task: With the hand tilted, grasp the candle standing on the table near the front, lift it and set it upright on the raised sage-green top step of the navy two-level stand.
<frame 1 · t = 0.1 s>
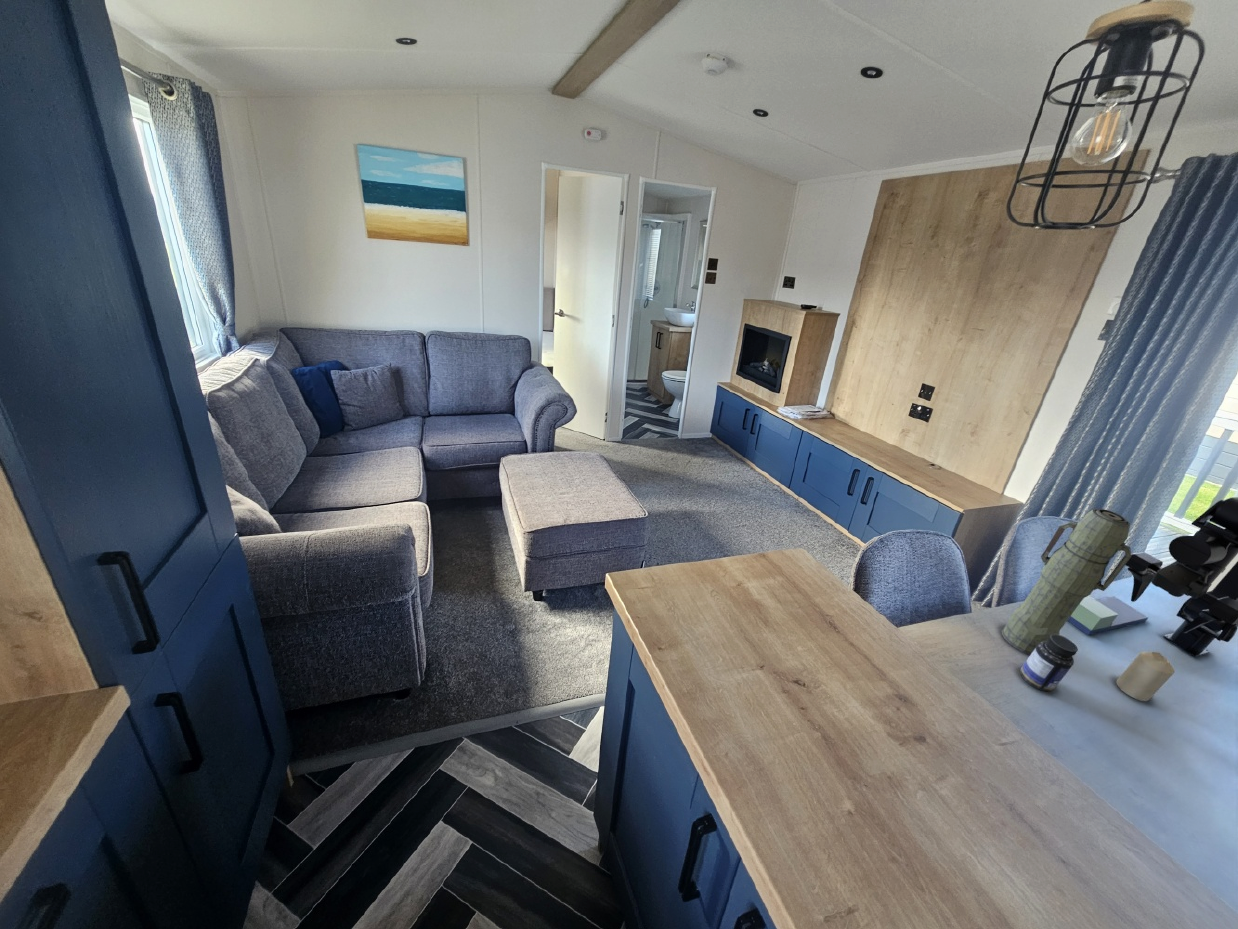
hand: (1157, 616, 110), 15 cm above the table, tool pointing down, fingers open, 9 cm apart
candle: (1131, 691, 110), on the table
stand: (1100, 616, 132), on the table
pill bottle: (1035, 681, 108), on the table
thermos: (1022, 642, 118), on the table
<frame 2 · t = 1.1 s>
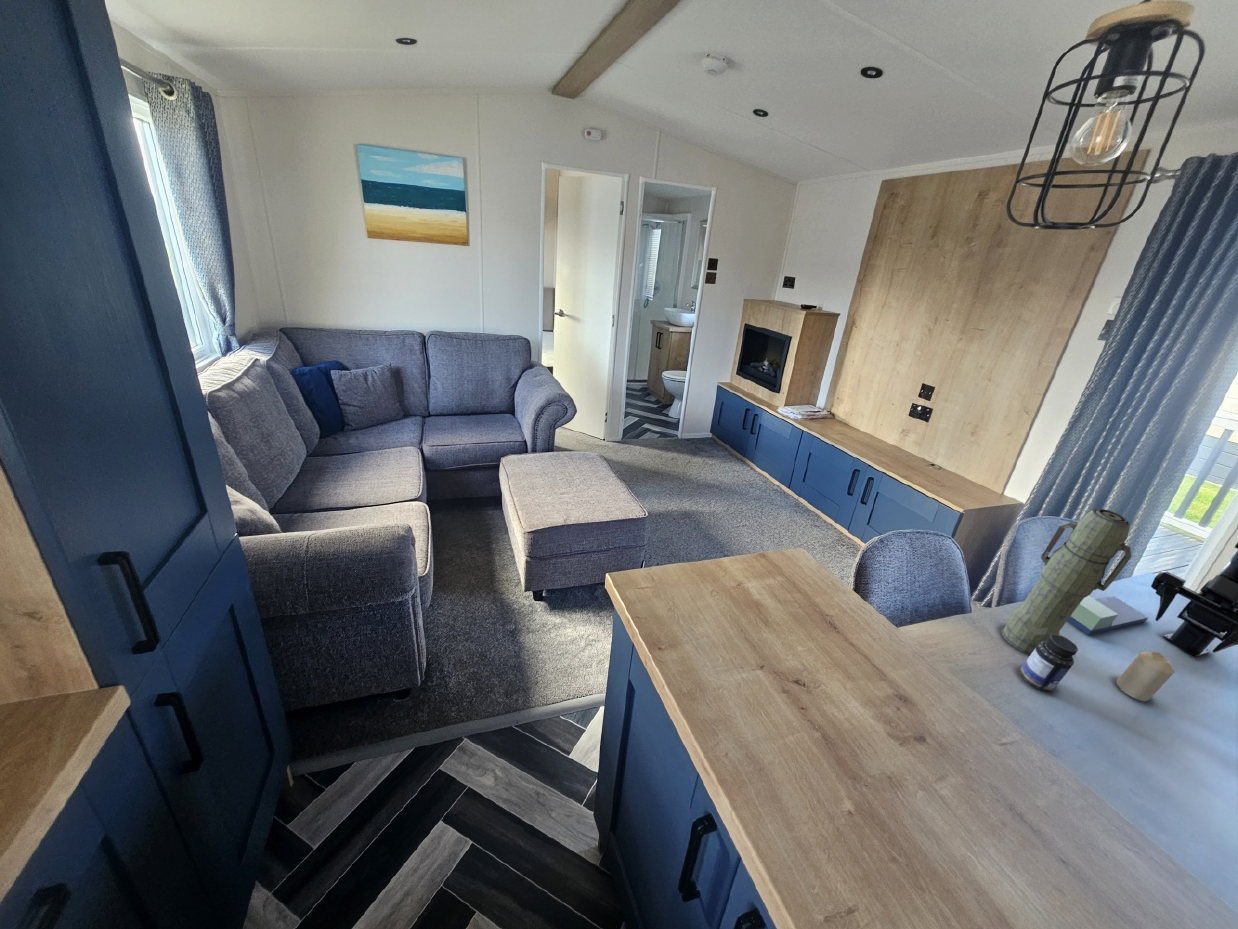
hand: (1184, 635, 107), 13 cm above the table, tool tilted 45°, fingers open, 9 cm apart
nothing on the table moved.
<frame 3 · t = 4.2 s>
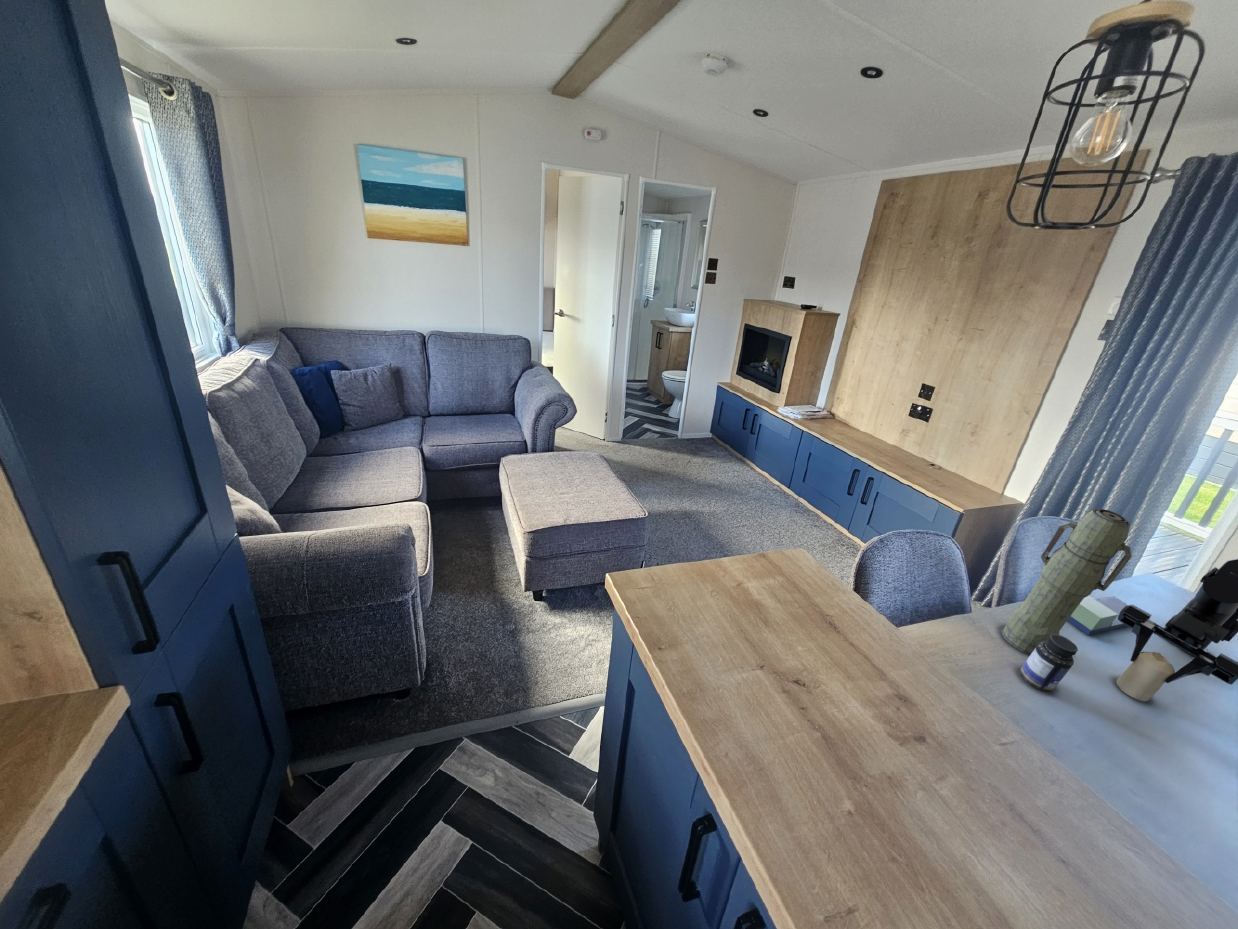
hand: (1148, 671, 106), 7 cm above the table, tool tilted 45°, fingers closed on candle, 5 cm apart
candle: (1131, 691, 110), on the table, touching gripper
everything else where it was.
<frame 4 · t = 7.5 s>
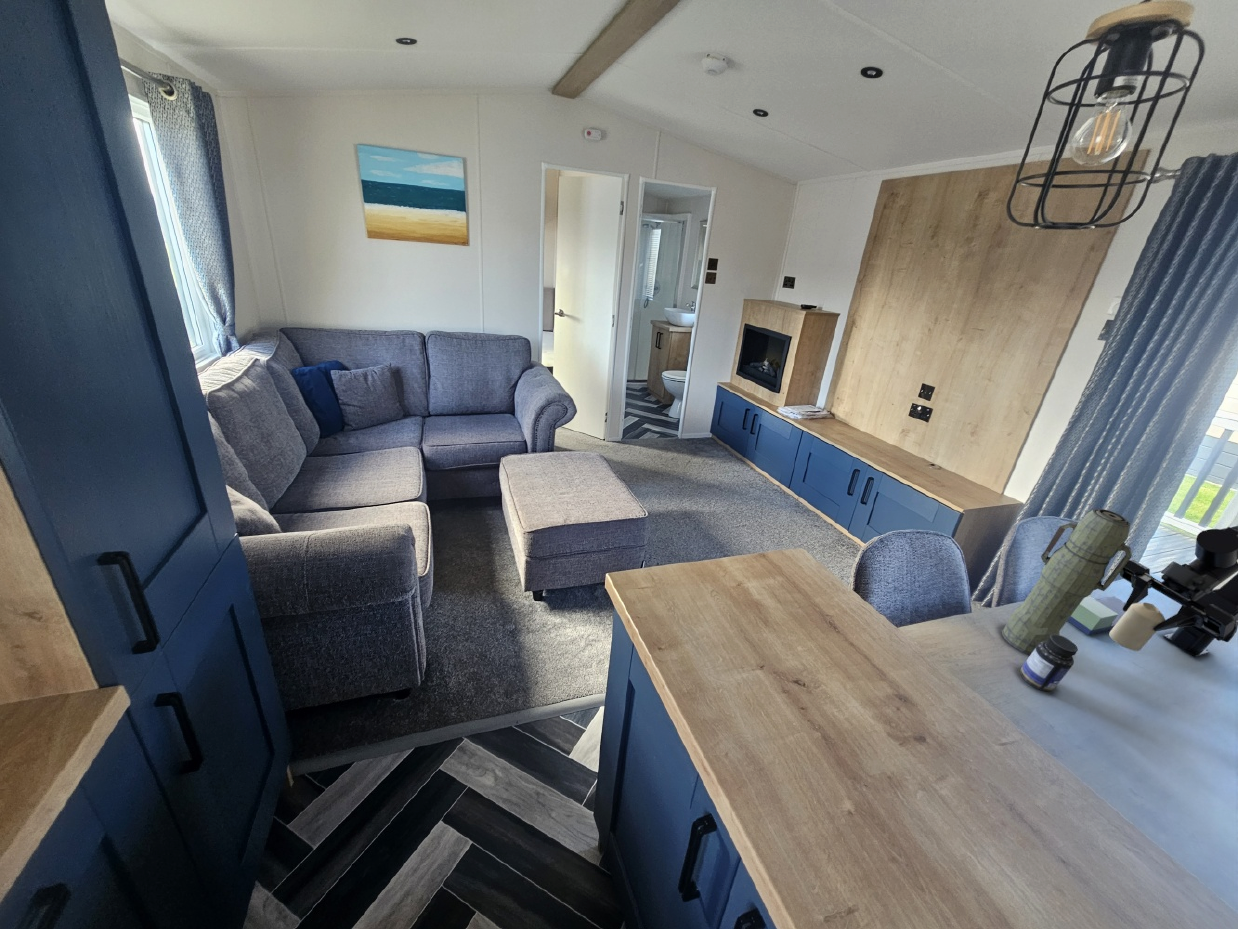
hand: (1138, 619, 109), 14 cm above the table, tool tilted 45°, fingers closed on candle, 5 cm apart
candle: (1123, 642, 113), point 7 cm above the table, touching gripper
everything else where it was.
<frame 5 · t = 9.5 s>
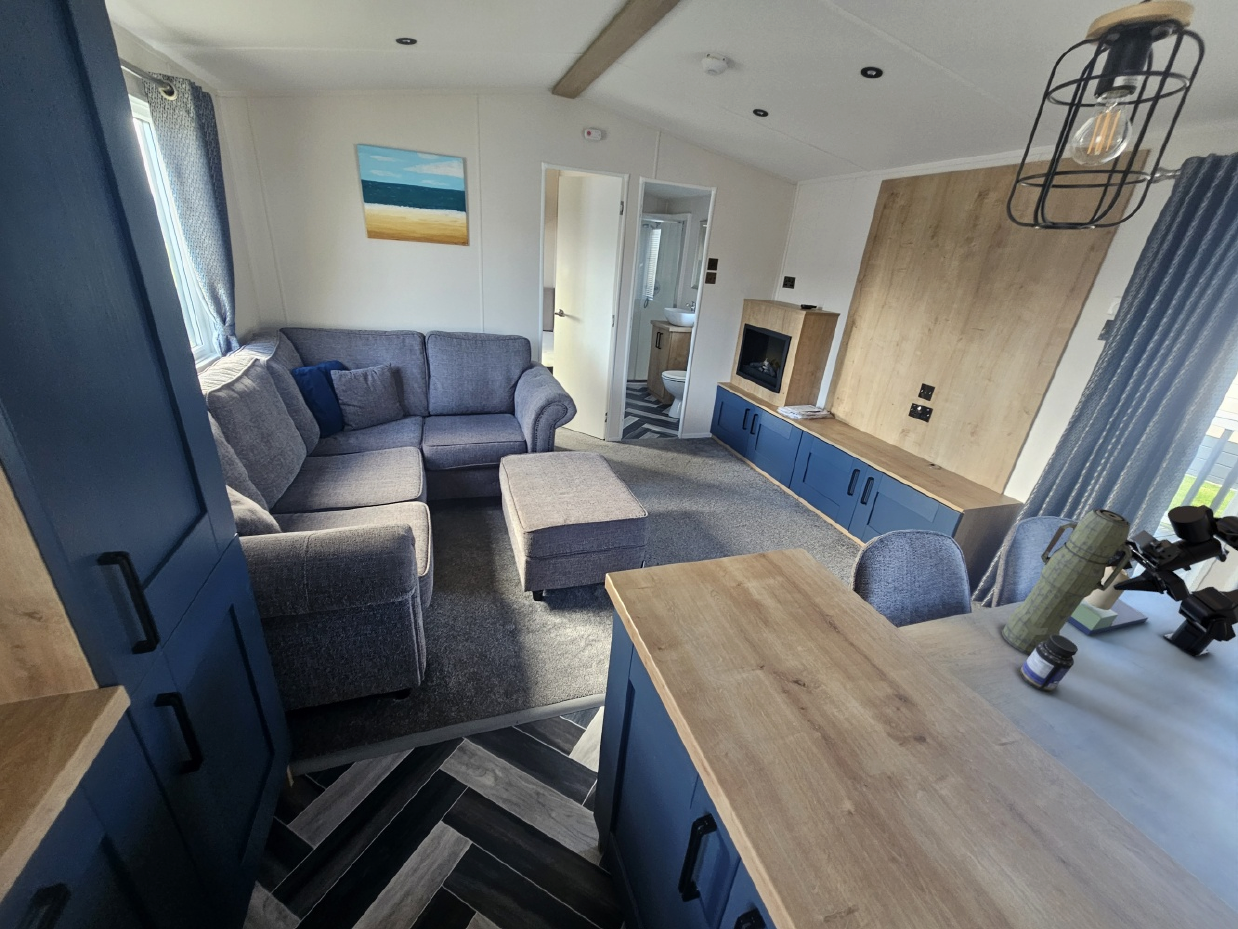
hand: (1105, 580, 122), 13 cm above the table, tool tilted 45°, fingers closed on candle, 5 cm apart
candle: (1095, 602, 125), point 7 cm above the table, touching gripper
everything else where it was.
when the fingers open (12 cm above the table, at t = 10.9 s): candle stays where it is, resting on stand.
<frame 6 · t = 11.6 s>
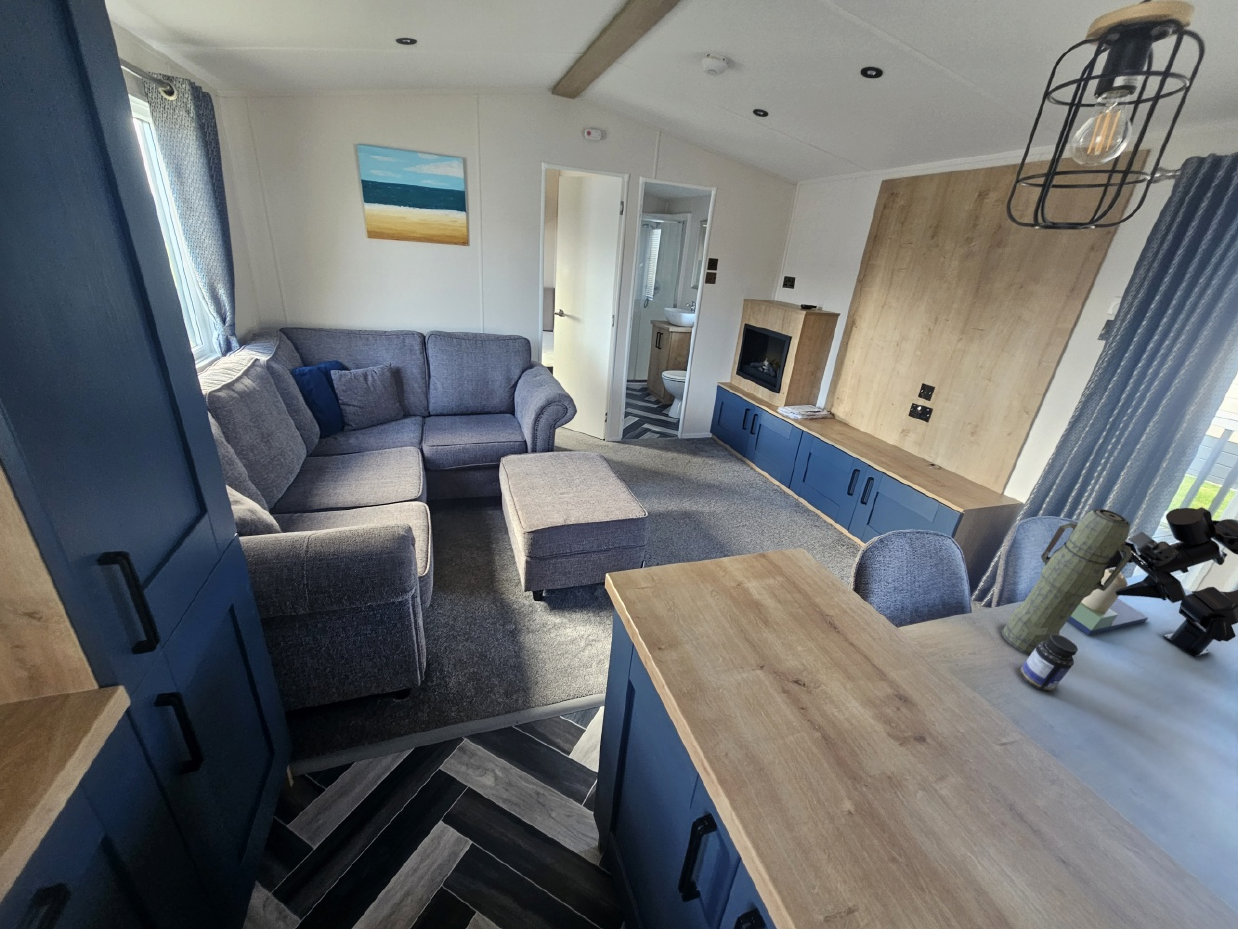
hand: (1102, 580, 123), 13 cm above the table, tool tilted 45°, fingers open, 9 cm apart
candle: (1092, 605, 126), point 5 cm above the table, touching stand
everything else where it was.
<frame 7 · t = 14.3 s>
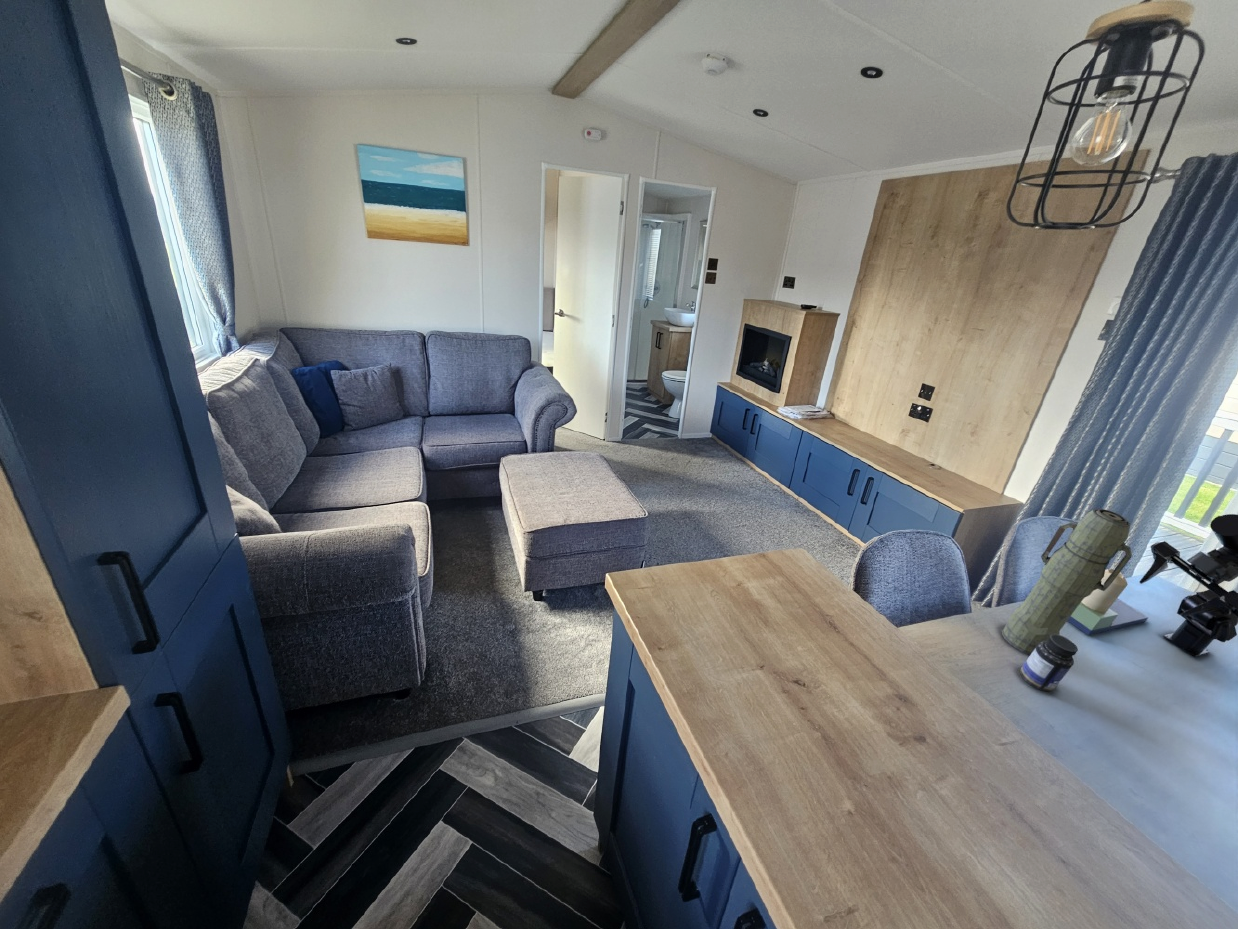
hand: (1160, 598, 119), 13 cm above the table, tool tilted 35°, fingers open, 9 cm apart
nothing on the table moved.
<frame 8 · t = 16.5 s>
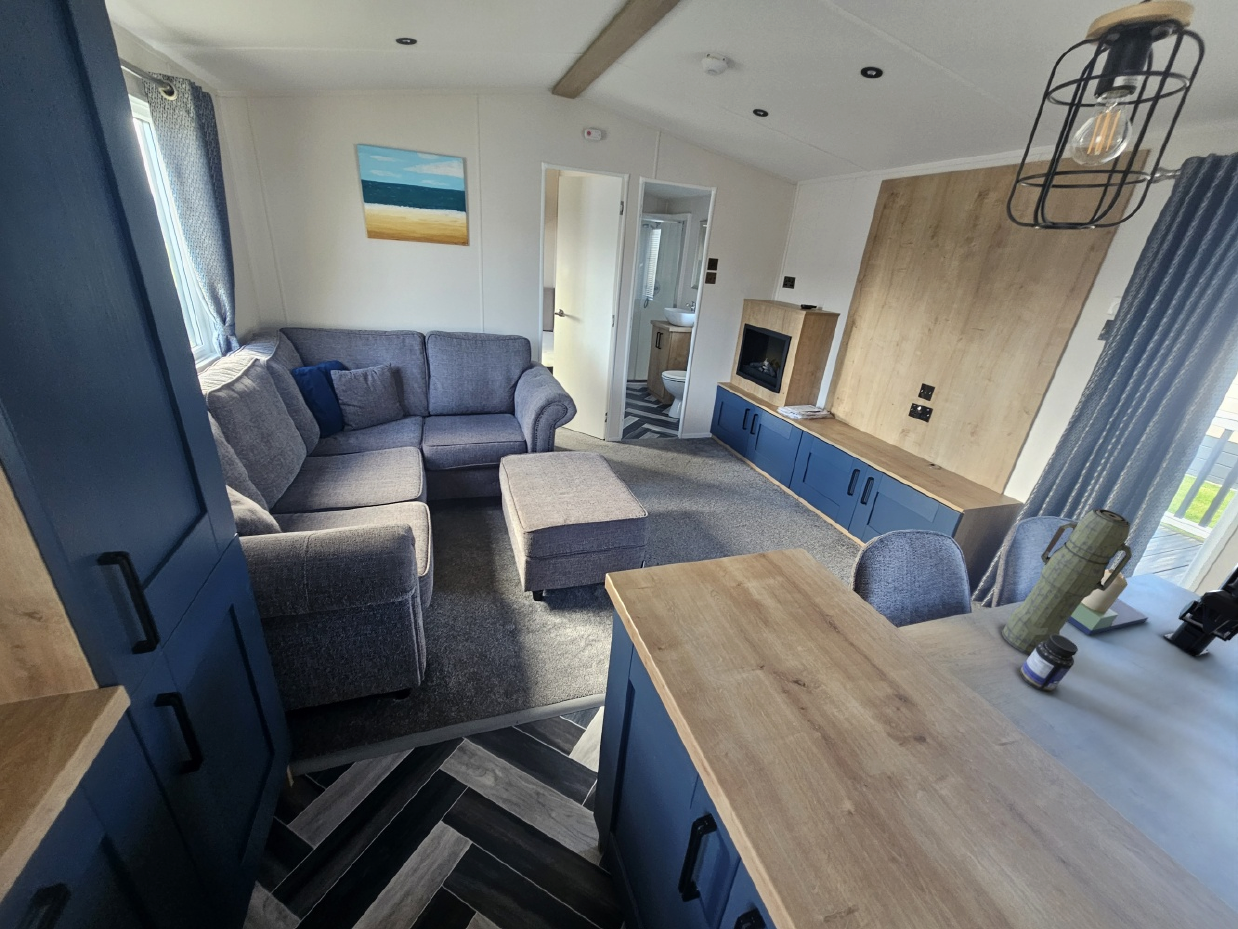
hand: (1217, 629, 111), 13 cm above the table, tool pointing down, fingers open, 9 cm apart
nothing on the table moved.
at the end: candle 0.1 cm from the target spot on the stand, point 5.3 cm above the stand's base; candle tilted 0°; the gripper is holding nothing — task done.
